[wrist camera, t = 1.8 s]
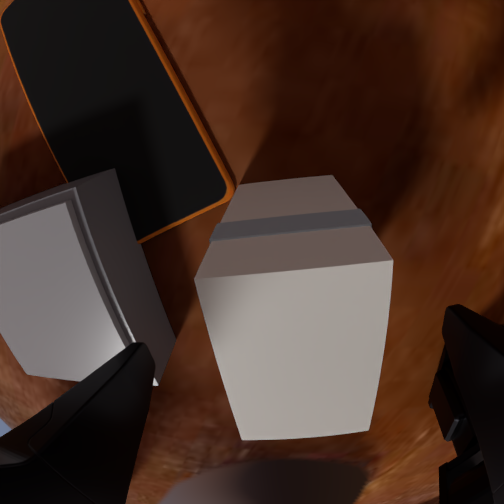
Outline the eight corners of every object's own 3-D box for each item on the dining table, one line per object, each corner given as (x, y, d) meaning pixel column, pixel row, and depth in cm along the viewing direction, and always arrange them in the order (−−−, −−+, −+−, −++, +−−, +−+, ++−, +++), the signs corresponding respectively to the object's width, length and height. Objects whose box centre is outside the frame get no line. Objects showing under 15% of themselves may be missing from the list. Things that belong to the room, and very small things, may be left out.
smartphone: (116, 253, 16) (109, 261, 15) (5, 18, 10) (-4, 17, 9) (243, 191, 14) (240, 197, 13) (103, -68, 8) (95, -74, 7)
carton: (333, 173, 13) (395, 258, 6) (338, 295, 16) (369, 430, 8) (237, 183, 14) (190, 276, 6) (257, 303, 16) (240, 440, 9)
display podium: (118, 166, 14) (69, 189, 10) (176, 339, 18) (156, 391, 14) (-5, 210, 15) (-48, 236, 11) (54, 341, 19) (26, 378, 16)
